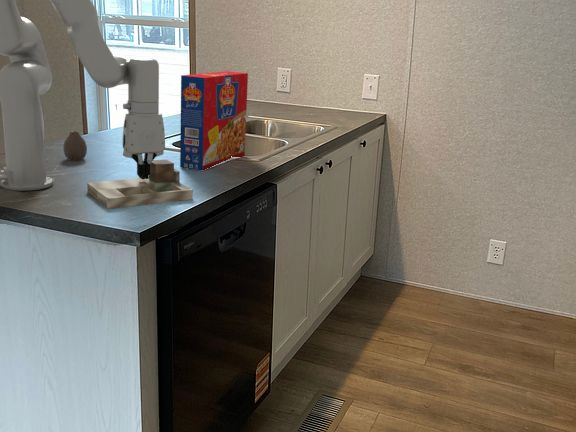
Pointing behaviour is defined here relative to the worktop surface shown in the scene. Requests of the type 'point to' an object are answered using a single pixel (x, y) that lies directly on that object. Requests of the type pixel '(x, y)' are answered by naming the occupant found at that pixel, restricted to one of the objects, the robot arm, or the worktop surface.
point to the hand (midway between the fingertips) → (143, 177)
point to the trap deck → (138, 191)
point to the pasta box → (212, 118)
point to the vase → (75, 147)
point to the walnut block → (161, 171)
